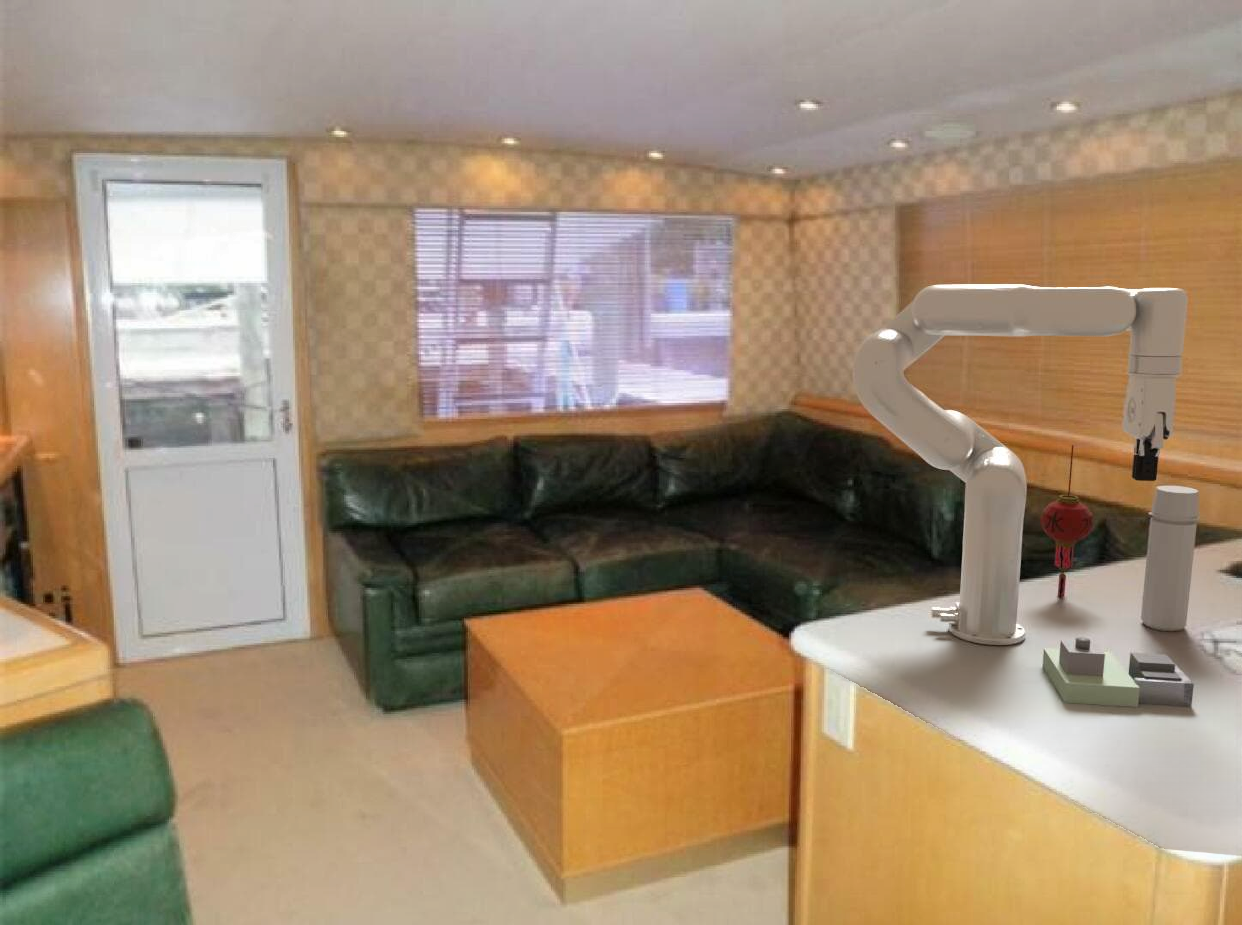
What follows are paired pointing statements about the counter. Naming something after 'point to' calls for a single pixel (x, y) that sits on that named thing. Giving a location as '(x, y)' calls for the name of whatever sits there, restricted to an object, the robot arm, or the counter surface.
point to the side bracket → (1166, 690)
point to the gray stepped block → (1152, 666)
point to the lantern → (1066, 528)
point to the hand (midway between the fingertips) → (1143, 479)
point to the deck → (1089, 675)
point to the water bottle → (1170, 557)
